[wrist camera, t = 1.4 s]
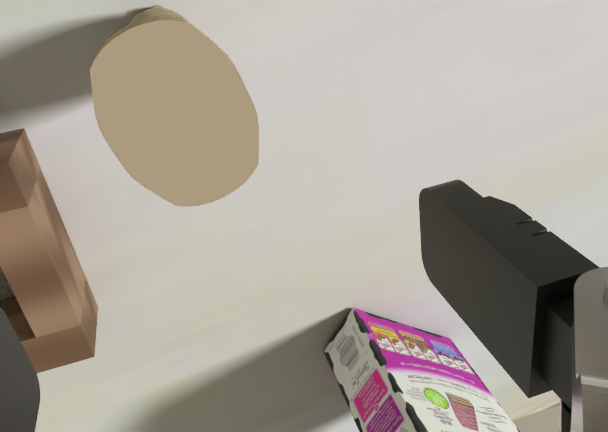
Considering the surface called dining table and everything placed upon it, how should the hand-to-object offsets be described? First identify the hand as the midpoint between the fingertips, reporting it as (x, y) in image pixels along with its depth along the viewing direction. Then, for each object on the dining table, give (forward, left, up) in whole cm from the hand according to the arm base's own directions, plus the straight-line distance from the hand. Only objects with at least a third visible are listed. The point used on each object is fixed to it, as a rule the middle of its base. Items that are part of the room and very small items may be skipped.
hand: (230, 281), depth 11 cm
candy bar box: (+28, +12, -25) cm, 39 cm away
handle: (0, 0, -25) cm, 25 cm away
